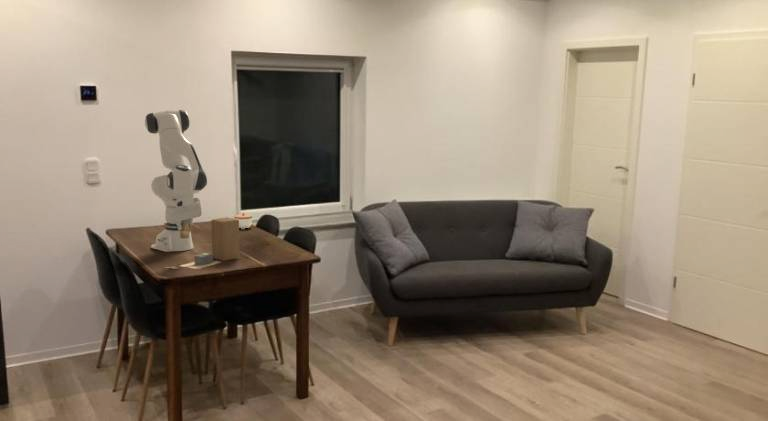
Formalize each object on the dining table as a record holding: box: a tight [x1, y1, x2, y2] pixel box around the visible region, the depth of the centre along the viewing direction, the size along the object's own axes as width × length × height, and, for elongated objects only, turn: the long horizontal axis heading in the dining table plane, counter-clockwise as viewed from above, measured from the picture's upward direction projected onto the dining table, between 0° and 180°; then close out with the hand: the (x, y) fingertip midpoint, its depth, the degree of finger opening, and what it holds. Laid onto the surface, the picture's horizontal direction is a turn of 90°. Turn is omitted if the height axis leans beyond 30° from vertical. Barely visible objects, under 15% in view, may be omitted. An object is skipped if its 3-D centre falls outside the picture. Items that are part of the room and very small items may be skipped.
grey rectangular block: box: [193, 252, 214, 265], centre depth 317 cm, size 5×7×4 cm
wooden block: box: [210, 216, 241, 261], centre depth 328 cm, size 10×10×20 cm
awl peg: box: [180, 220, 189, 239], centre depth 317 cm, size 4×4×9 cm
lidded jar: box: [233, 212, 253, 230], centre depth 406 cm, size 11×11×9 cm
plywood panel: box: [179, 260, 222, 270], centre depth 315 cm, size 12×16×1 cm
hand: (184, 228), depth 317 cm, fingers closed on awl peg, 4 cm apart
